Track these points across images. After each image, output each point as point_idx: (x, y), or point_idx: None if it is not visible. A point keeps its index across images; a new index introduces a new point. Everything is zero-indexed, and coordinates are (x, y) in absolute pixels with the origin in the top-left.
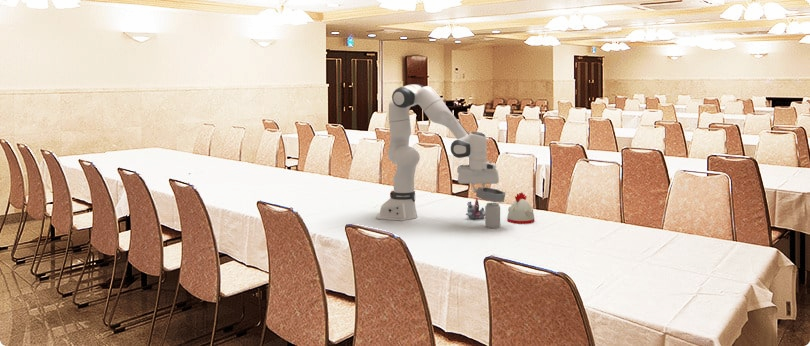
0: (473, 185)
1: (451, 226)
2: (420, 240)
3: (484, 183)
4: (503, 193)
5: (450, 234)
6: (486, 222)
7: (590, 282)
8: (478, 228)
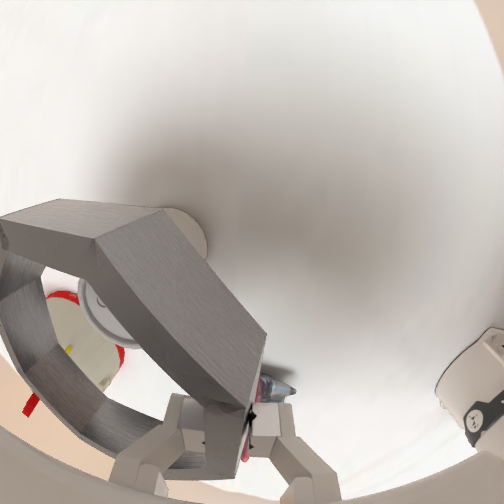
0: (306, 479)
1: (378, 256)
2: (475, 44)
3: (105, 481)
4: (6, 338)
5: (393, 94)
6: (196, 232)
7: None
8: (245, 209)
